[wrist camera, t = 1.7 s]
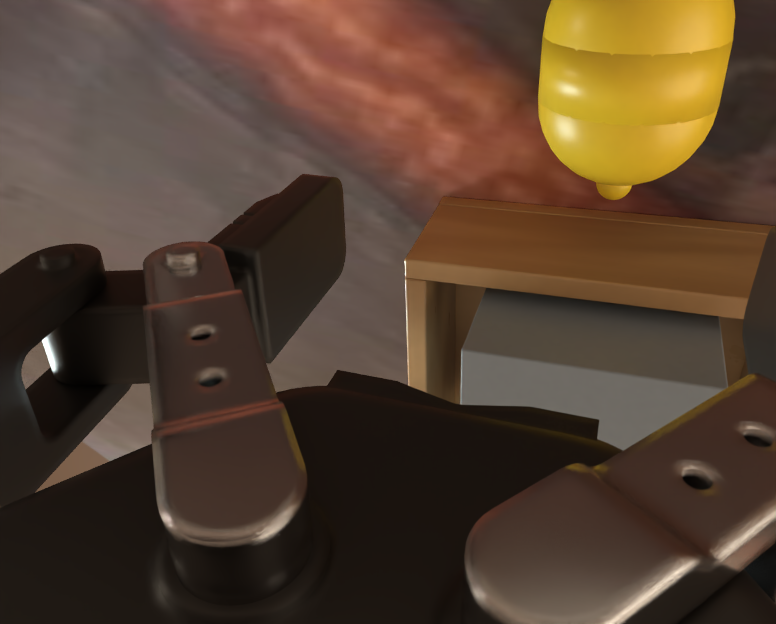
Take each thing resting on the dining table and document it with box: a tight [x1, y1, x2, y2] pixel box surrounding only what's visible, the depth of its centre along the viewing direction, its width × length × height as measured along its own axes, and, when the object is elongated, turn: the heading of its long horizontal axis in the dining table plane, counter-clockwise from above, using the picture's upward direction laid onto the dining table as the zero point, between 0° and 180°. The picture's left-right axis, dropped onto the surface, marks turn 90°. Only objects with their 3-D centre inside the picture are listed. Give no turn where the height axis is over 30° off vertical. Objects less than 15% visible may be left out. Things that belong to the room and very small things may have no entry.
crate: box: [405, 196, 773, 404], centre depth 30 cm, size 18×14×6 cm
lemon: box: [538, 0, 735, 200], centre depth 22 cm, size 9×6×6 cm, turn 2°
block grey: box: [460, 288, 728, 450], centre depth 27 cm, size 8×8×8 cm
